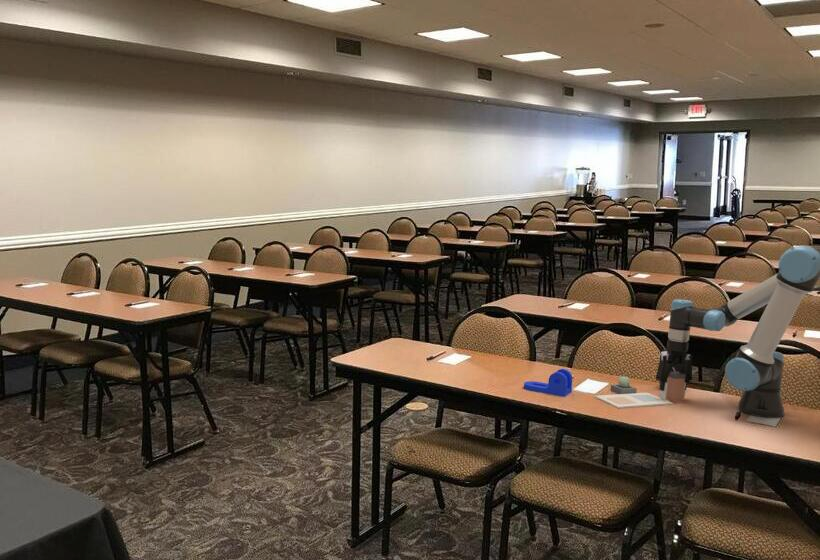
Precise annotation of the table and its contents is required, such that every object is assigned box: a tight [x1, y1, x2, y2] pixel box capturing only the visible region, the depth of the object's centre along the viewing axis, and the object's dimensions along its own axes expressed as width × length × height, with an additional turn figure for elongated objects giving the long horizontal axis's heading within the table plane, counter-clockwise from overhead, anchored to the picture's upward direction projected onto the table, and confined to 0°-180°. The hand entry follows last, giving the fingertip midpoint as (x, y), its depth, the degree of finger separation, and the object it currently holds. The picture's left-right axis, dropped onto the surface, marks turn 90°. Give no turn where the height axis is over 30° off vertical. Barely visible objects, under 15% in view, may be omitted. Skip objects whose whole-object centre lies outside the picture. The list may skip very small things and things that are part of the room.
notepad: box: [594, 392, 674, 410], centre depth 263 cm, size 15×24×1 cm, turn 109°
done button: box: [618, 376, 630, 388], centre depth 274 cm, size 4×4×4 cm
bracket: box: [523, 368, 573, 398], centre depth 273 cm, size 18×8×9 cm, turn 60°
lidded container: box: [666, 372, 685, 403], centre depth 265 cm, size 5×5×11 cm
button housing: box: [610, 383, 637, 394], centre depth 275 cm, size 7×7×2 cm
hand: (671, 398), depth 265 cm, fingers open, 8 cm apart
